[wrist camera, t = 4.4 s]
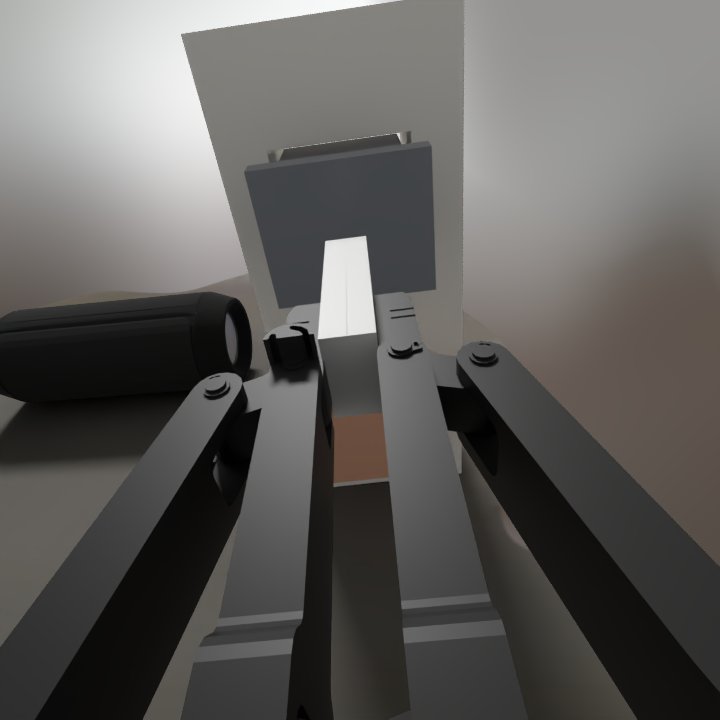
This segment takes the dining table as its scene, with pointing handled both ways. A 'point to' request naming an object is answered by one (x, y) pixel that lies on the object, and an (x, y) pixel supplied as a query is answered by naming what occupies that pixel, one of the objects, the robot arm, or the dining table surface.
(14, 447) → the dining table surface
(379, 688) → the dining table surface
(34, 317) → the portable speaker
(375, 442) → the lower button
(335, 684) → the dining table surface
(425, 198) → the upper button
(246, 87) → the button panel
